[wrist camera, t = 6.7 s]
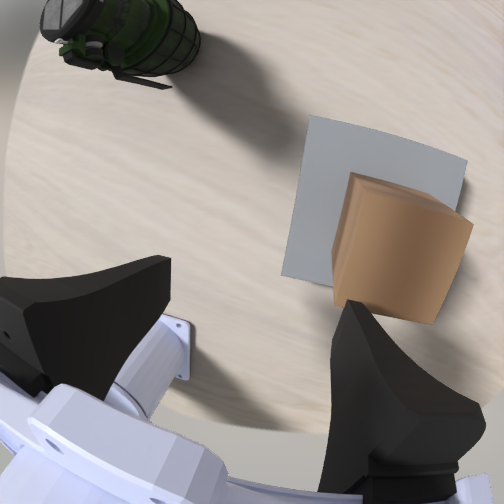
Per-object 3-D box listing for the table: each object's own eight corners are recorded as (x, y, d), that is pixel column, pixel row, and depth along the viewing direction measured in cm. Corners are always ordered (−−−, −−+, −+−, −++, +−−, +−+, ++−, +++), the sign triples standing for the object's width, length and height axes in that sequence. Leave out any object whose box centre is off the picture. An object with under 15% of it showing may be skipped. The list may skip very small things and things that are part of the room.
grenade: (211, 9, 16) (115, -70, 5) (219, 84, 18) (109, 43, 7) (143, 30, 17) (27, -9, 6) (149, 101, 19) (19, 97, 9)
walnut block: (331, 252, 18) (334, 305, 12) (350, 171, 16) (366, 192, 10) (404, 269, 17) (432, 324, 12) (428, 193, 15) (473, 224, 10)
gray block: (286, 254, 22) (280, 275, 19) (311, 118, 18) (309, 115, 15) (409, 281, 21) (421, 304, 18) (446, 155, 17) (467, 160, 14)
